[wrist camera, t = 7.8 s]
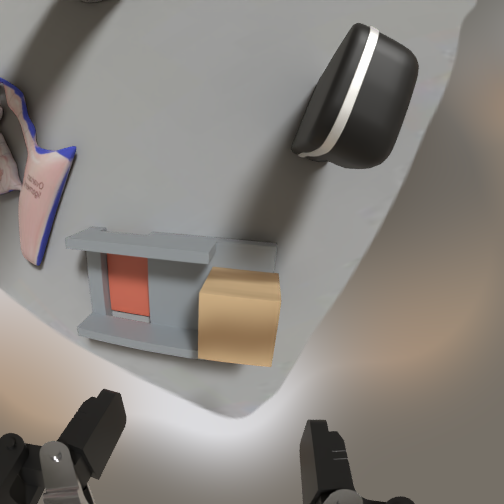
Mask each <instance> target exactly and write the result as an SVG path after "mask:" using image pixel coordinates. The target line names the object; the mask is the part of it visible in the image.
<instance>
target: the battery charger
mask: <svg viewBox="0 0 504 504" xmlns="http://www.w3.org/2000/svg"><path fill="white" fill-rule="evenodd" d="M418 69H419V65H418V62H417V59H416V57H415V56H414V54H413V53H412V52H411V51H410V50H409V49H408V48H406V47H405V46H403V45H402V44H400V43H398V42H397V41H395V40H393V39H391V38H389V37H387V36H386V35H384V34H382V33H380V32H379V30H378V29H376V28H374V27H372V26H366V25H364V24H361V23H356V24H354V25H353V26H352V28H351V29H350V30H349V32H348V33H347V35H346V37H345V38H344V40H343V41H342V43H341V44H340V46H339V48H338V49H337V51H336V53H335V54H334V56H333V58H332V59H331V61H330V63H329V64H328V66H327V68H326V69H325V71H324V73H323V74H322V76H321V77H320V79H319V81H318V83H317V86H316V88H315V91H314V93H313V95H312V98H311V100H310V103H309V105H308V108H307V110H306V112H305V115H304V117H303V120H302V122H301V125H300V127H299V129H298V132H297V134H296V137H295V139H294V142H293V144H292V147H291V150H292V151H293V152H294V153H296V154H298V156H300V157H302V158H303V157H305V158H307V159H310V160H313V161H318V162H326V161H329V162H331V163H334V164H336V165H338V166H341V167H344V168H350V169H366V168H372V167H374V166H377V165H379V164H381V163H382V162H384V161H385V160H386V159H387V157H388V156H389V155H390V153H391V151H392V150H393V147H394V145H395V143H396V140H397V137H398V135H399V132H400V129H401V126H402V124H403V121H404V118H405V115H406V112H407V109H408V106H409V103H410V100H411V97H412V94H413V90H414V87H415V84H416V80H417V76H418Z"/></svg>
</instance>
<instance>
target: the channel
mask: <svg viewBox="0 0 504 504" xmlns="http://www.w3.org/2000/svg"><path fill="white" fill-rule="evenodd" d="M65 241H66V248H68V249H76V250H84V251H86V255H87V267H88V278H89V287H90V296H91V303H92V310H93V313H92V314H91V315H89V316H88V317H87V318H86V319H85V320H84V321H83V322H82V323H81V324H80V325H79V326H78V327H77V331H78V335H79V336H83V337H87V338H91V339H95V340H99V341H103V342H107V343H112V344H116V345H121V346H125V347H130V348H135V349H140V350H145V351H150V352H156V353H161V354H167V355H173V356H179V357H185V358H192V359H199V358H198V318H199V292H200V290H201V288H202V286H203V284H204V282H205V281H206V279H207V277H208V275H209V273H210V271H211V269H212V267H222V268H231V269H240V270H250V271H259V272H269V273H274V270H275V262H276V253H277V243H269V242H258V241H248V240H237V239H226V238H216V237H205V236H193V235H182V234H171V233H159V232H152V233H150V234H149V235H139V234H128V233H117V232H106V228H100V227H91V228H88V229H86V230H83V231H81V232H79V233H76V234H74V235H71V236H69V237H67V238H65ZM112 310H116V311H122V312H127V313H133V314H139V315H145V316H150V323H146V322H140V321H134V320H129V319H123V318H118V317H113V316H112ZM199 360H206V359H199Z"/></svg>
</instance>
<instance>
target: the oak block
mask: <svg viewBox="0 0 504 504" xmlns="http://www.w3.org/2000/svg"><path fill="white" fill-rule="evenodd" d="M280 307H281V294H280V284H279V273H269V272H259V271H250V270H240V269H231V268H222V267H212V269H211V271H210V273H209V275H208V277H207V279H206V281H205V282H204V284H203V286H202V288H201V290H200V292H199V318H198V358H199V359H206V360H213V361H221V362H229V363H237V364H246V365H256V366H267V367H271V364H272V358H273V352H274V346H275V340H276V333H277V327H278V320H279V313H280Z"/></svg>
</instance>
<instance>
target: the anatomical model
mask: <svg viewBox="0 0 504 504" xmlns="http://www.w3.org/2000/svg"><path fill="white" fill-rule="evenodd" d="M0 83H3V85H4V89H5V93H6V98H7V104H8V106H9V107H10V109H11V110H12V111H13V112H14V113H15V115H16V116H17V118H18V120H19V122H20V125H21V128H22V131H23V135H24V139H25V143H26V147H27V151H28V157H27V162H26V167H25V172H24V179H23V185H22V183H21V181H20V179H19V175H18V168H17V164H16V162H15V160H14V159H13V157H12V154H11V152H10V150H9V148H8V146H7V144H6V142H5V139H4V137H3V135H2V134H1V133H0V194H4V193H7V192H11V191H13V190H21V192H20V196H19V210H18V211H19V234H20V244H21V251H22V254H23V256H24V257H25V258H26V259H27V260H28V261H29V262H31V263H33V264H34V265H38V266H39V265H40V264H41V261H42V259H43V255H44V252H45V249H46V245H47V241H48V238H49V234H50V231H51V227H52V224H53V220H54V217H55V214H56V210H57V207H58V204H59V201H60V198H61V195H62V192H63V190H64V187H65V183H66V180H67V177H68V174H69V171H70V168H71V165H72V162H73V158H74V155H75V152H76V147H75V146H72V147H68V148H64V149H60V150H46V149H42V148H40V147H39V146H38V145H37V142H36V130H35V127H34V125H33V123H32V121H31V120H30V118H29V116H28V112H27V107H26V102H25V98H24V95H23V93H22V92H21V91H20V90H19V89H18V88H17V87H16V86H14V85H13V84H11V83H10V82H8V81H6V80H4V79H2V78H0ZM2 115H3V109H2V108H1V106H0V120H1V118H2Z"/></svg>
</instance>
